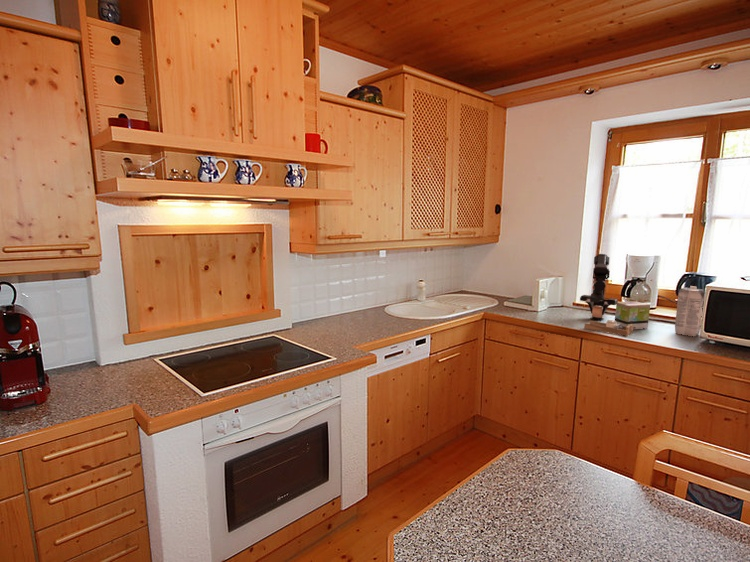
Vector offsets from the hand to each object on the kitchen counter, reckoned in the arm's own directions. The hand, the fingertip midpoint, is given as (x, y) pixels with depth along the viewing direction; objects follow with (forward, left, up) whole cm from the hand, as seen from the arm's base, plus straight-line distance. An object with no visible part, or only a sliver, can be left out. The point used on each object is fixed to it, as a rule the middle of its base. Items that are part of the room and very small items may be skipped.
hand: (597, 314), depth 244 cm
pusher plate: (0, +12, -9) cm, 14 cm away
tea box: (-17, +14, -9) cm, 23 cm away
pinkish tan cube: (0, 0, -1) cm, 1 cm away
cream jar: (0, +8, -9) cm, 12 cm away
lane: (0, +6, -9) cm, 10 cm away
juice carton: (-23, +40, -9) cm, 47 cm away
